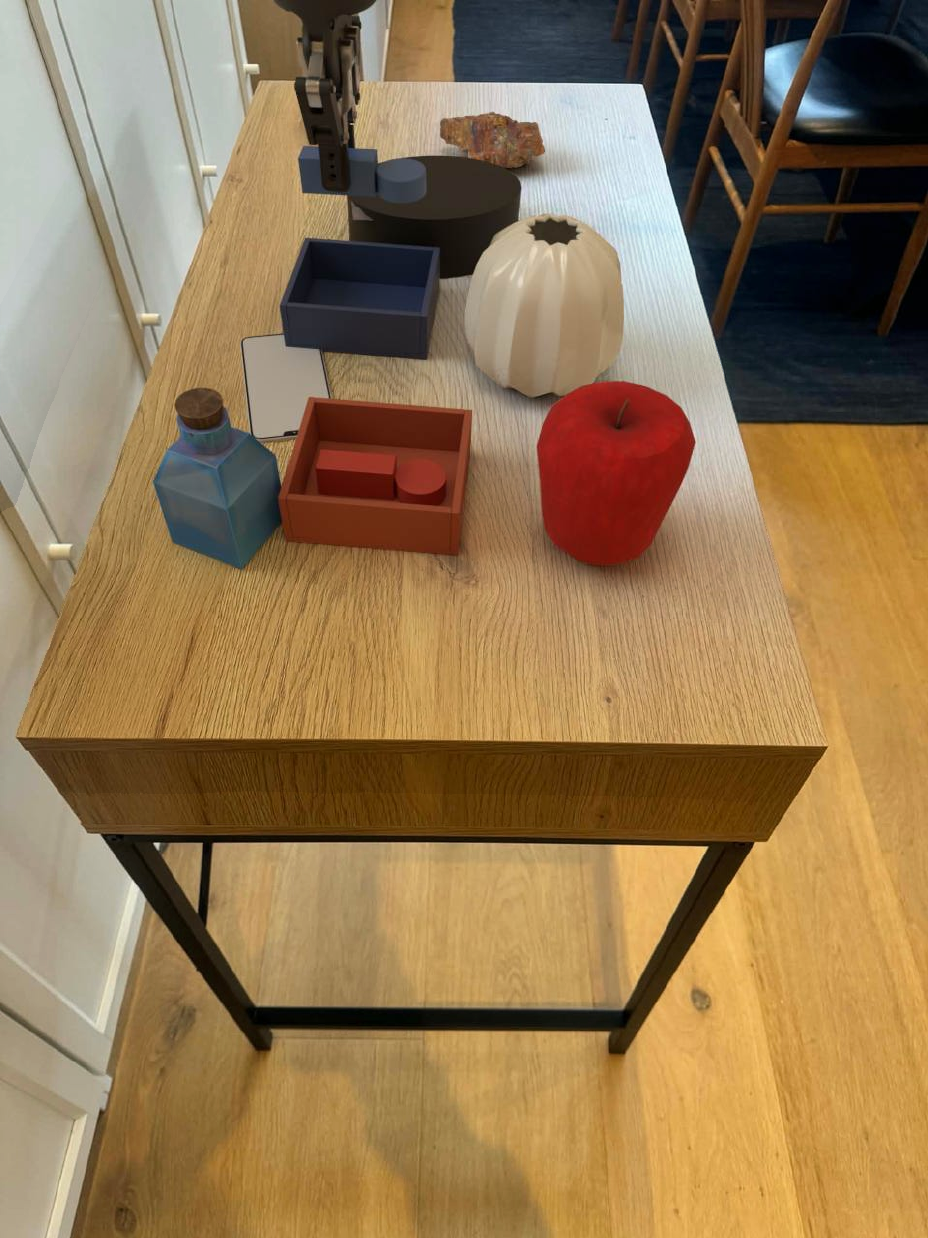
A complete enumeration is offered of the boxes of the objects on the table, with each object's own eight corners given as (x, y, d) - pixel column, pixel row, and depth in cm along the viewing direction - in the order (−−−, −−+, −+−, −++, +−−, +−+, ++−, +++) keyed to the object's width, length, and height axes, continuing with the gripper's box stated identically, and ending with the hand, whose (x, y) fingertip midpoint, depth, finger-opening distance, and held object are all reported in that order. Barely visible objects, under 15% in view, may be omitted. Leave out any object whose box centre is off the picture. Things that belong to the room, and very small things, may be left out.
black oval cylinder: (522, 286, 92) (534, 215, 87) (347, 279, 90) (347, 205, 84) (504, 219, 101) (513, 150, 96) (345, 211, 99) (345, 140, 93)
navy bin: (285, 348, 83) (279, 305, 79) (309, 279, 90) (304, 237, 86) (426, 359, 82) (426, 316, 79) (439, 289, 90) (440, 247, 86)
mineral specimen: (446, 168, 102) (443, 101, 99) (440, 176, 109) (438, 113, 107) (549, 165, 103) (549, 98, 100) (537, 173, 110) (537, 111, 108)
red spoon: (316, 502, 70) (312, 475, 67) (325, 467, 72) (322, 441, 70) (443, 512, 69) (443, 486, 67) (448, 477, 72) (448, 451, 70)
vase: (457, 327, 86) (461, 188, 75) (599, 323, 87) (623, 186, 76) (471, 420, 77) (477, 278, 67) (628, 414, 78) (659, 274, 68)
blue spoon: (300, 198, 72) (295, 163, 69) (309, 175, 74) (305, 140, 72) (423, 205, 71) (422, 169, 69) (429, 181, 74) (428, 146, 71)
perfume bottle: (286, 516, 69) (264, 389, 60) (241, 569, 66) (210, 444, 56) (219, 491, 71) (187, 363, 61) (172, 542, 67) (130, 415, 58)
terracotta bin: (285, 541, 68) (277, 498, 64) (314, 439, 75) (308, 396, 71) (458, 555, 67) (459, 513, 64) (470, 452, 75) (472, 409, 71)
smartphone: (318, 329, 84) (339, 431, 75) (318, 335, 85) (339, 437, 76) (238, 336, 83) (250, 441, 74) (239, 343, 84) (251, 447, 75)
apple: (652, 493, 72) (691, 350, 62) (673, 590, 66) (720, 449, 55) (522, 492, 72) (539, 348, 61) (531, 590, 66) (551, 448, 55)
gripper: (284, -116, 63) (310, 139, 77) (236, -54, 54) (275, 221, 68) (390, -109, 63) (397, 145, 76) (358, -46, 54) (372, 228, 68)
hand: (339, 180), depth 72 cm, fingers closed on blue spoon, 2 cm apart
